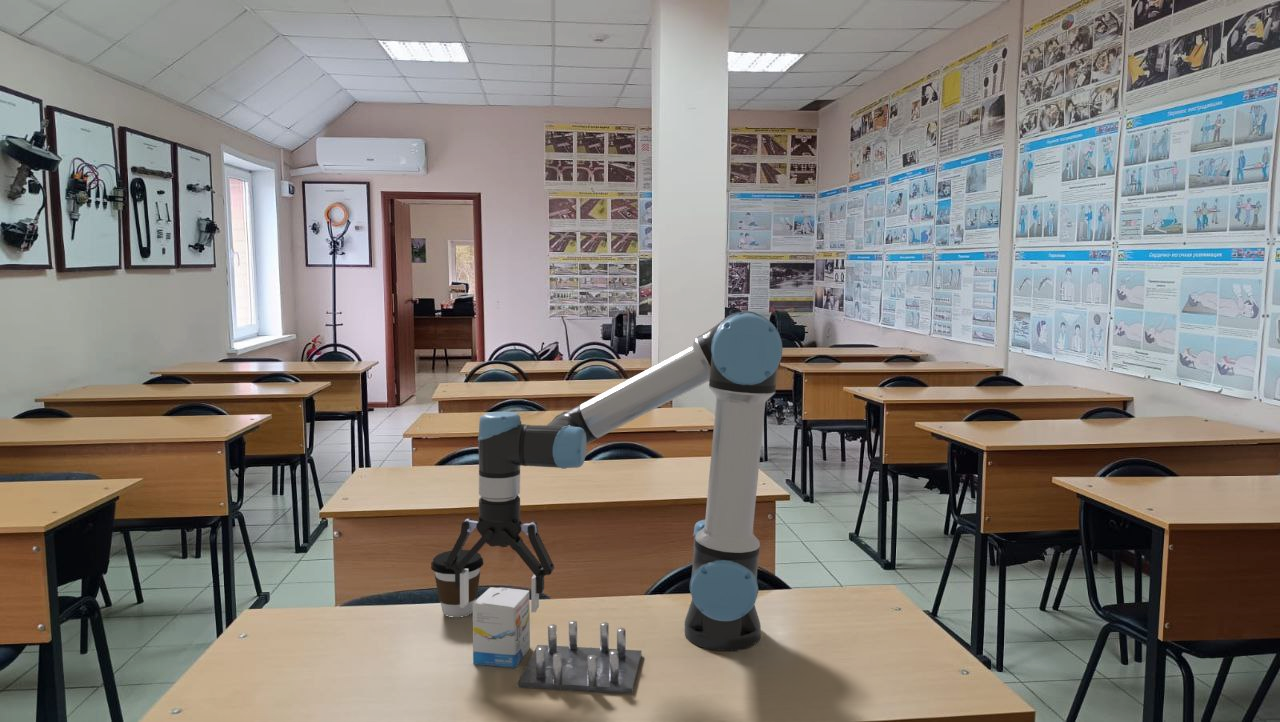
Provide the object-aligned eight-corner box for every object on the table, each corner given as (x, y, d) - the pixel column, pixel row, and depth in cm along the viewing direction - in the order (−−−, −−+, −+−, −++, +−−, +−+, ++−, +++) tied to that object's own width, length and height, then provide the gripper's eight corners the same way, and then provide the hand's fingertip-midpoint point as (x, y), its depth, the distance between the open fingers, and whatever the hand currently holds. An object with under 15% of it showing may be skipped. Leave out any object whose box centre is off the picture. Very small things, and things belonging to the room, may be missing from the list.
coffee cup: (467, 626, 160) (466, 569, 159) (421, 618, 164) (419, 563, 162) (494, 605, 170) (492, 552, 169) (450, 599, 174) (449, 546, 173)
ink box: (515, 669, 142) (514, 607, 141) (472, 664, 144) (470, 603, 143) (531, 647, 151) (530, 588, 150) (490, 643, 153) (489, 585, 151)
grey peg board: (641, 654, 148) (641, 624, 147) (631, 695, 133) (631, 661, 133) (538, 648, 150) (537, 618, 150) (517, 688, 136) (516, 655, 135)
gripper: (570, 493, 147) (569, 603, 149) (441, 487, 150) (442, 594, 152) (561, 505, 139) (560, 619, 141) (426, 498, 142) (427, 610, 144)
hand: (499, 607), depth 147 cm, fingers open, 13 cm apart
